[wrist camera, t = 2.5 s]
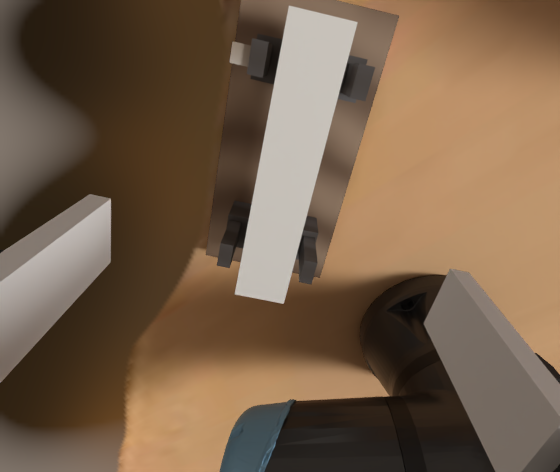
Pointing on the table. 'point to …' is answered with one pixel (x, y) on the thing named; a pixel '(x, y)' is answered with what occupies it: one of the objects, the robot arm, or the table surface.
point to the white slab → (293, 148)
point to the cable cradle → (254, 113)
